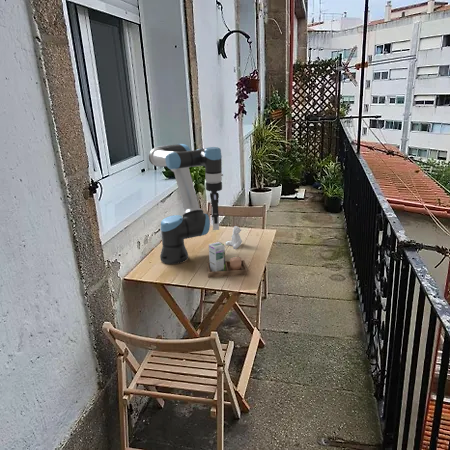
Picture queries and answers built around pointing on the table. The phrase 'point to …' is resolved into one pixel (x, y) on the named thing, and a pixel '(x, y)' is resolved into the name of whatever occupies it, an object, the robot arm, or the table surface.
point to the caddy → (228, 270)
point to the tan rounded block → (235, 263)
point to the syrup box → (217, 257)
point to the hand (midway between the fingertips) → (215, 224)
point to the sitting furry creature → (235, 238)
